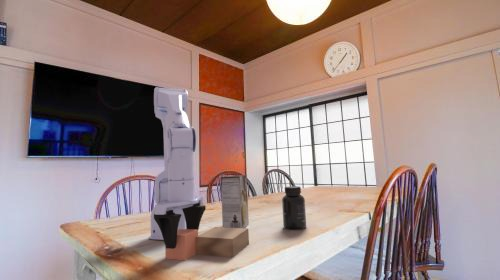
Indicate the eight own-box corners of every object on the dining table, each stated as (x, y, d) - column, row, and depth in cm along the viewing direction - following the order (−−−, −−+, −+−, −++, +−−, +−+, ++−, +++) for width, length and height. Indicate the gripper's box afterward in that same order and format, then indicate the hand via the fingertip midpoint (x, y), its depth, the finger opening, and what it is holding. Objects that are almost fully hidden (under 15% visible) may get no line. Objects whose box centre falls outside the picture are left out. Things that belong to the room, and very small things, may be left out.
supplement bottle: (278, 228, 74) (276, 187, 76) (292, 223, 79) (290, 185, 80) (297, 231, 70) (294, 188, 71) (311, 226, 74) (308, 186, 75)
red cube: (165, 258, 53) (165, 234, 53) (179, 250, 58) (179, 228, 58) (185, 260, 51) (184, 235, 52) (198, 252, 56) (197, 229, 56)
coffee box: (230, 223, 83) (228, 175, 85) (249, 223, 82) (247, 174, 84) (222, 230, 74) (220, 176, 76) (242, 230, 73) (240, 175, 75)
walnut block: (196, 255, 55) (195, 236, 55) (216, 243, 63) (215, 227, 64) (233, 258, 52) (232, 239, 52) (249, 245, 60) (248, 228, 60)
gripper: (174, 181, 48) (175, 255, 46) (212, 178, 61) (214, 234, 60) (146, 182, 51) (146, 252, 49) (189, 178, 64) (190, 233, 62)
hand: (182, 242), depth 55 cm, fingers open, 7 cm apart
